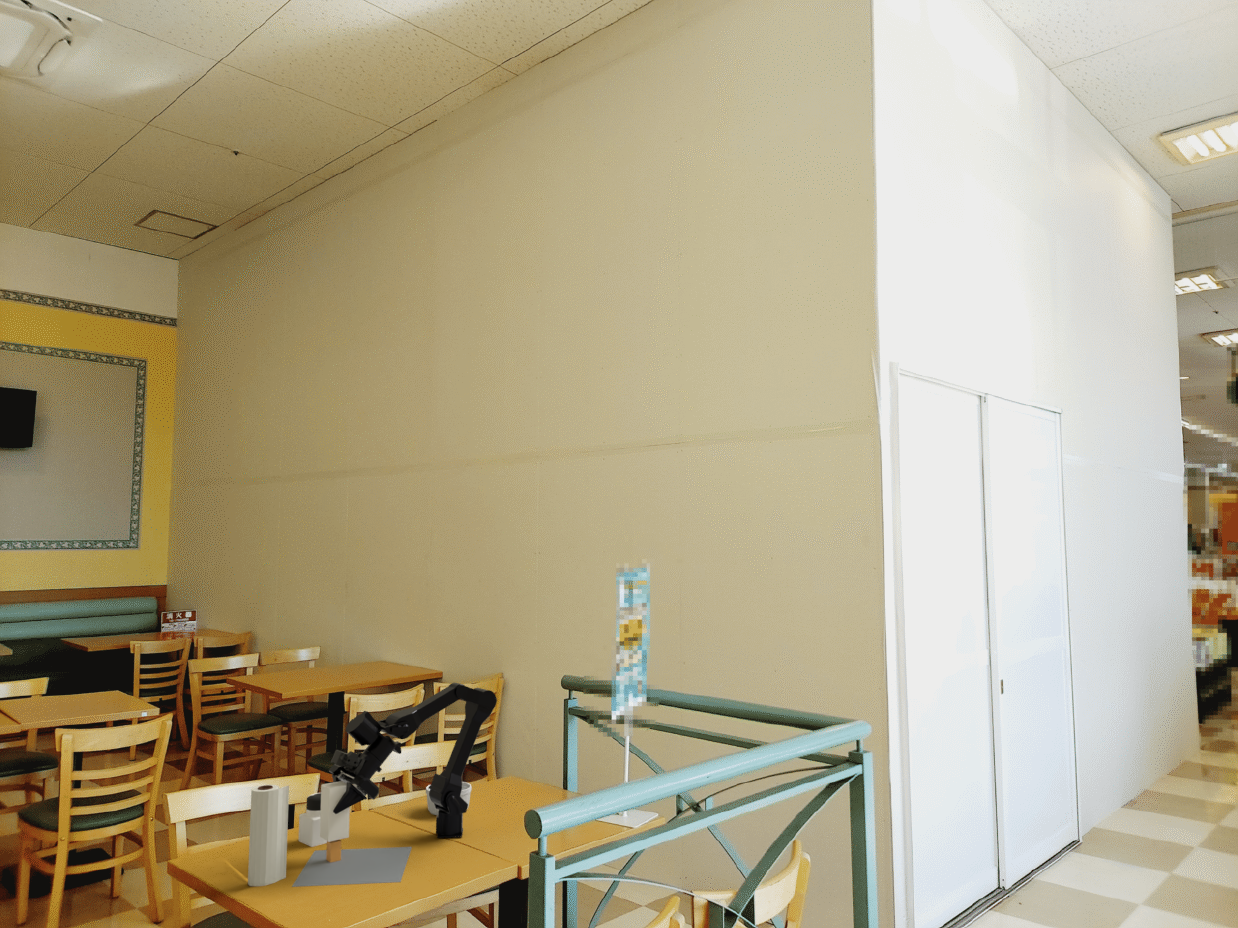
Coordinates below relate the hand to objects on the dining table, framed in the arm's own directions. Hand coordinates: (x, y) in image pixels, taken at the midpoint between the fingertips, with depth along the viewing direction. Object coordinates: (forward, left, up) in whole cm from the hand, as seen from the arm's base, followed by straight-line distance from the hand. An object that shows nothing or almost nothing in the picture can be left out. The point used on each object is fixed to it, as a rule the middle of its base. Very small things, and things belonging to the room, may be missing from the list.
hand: (329, 810), depth 217 cm
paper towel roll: (+12, +12, -13) cm, 21 cm away
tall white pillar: (-1, -1, -7) cm, 7 cm away
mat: (-7, +4, -12) cm, 15 cm away
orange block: (-1, -1, -12) cm, 12 cm away
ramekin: (-26, -40, -13) cm, 50 cm away
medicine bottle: (+6, -16, -13) cm, 21 cm away
